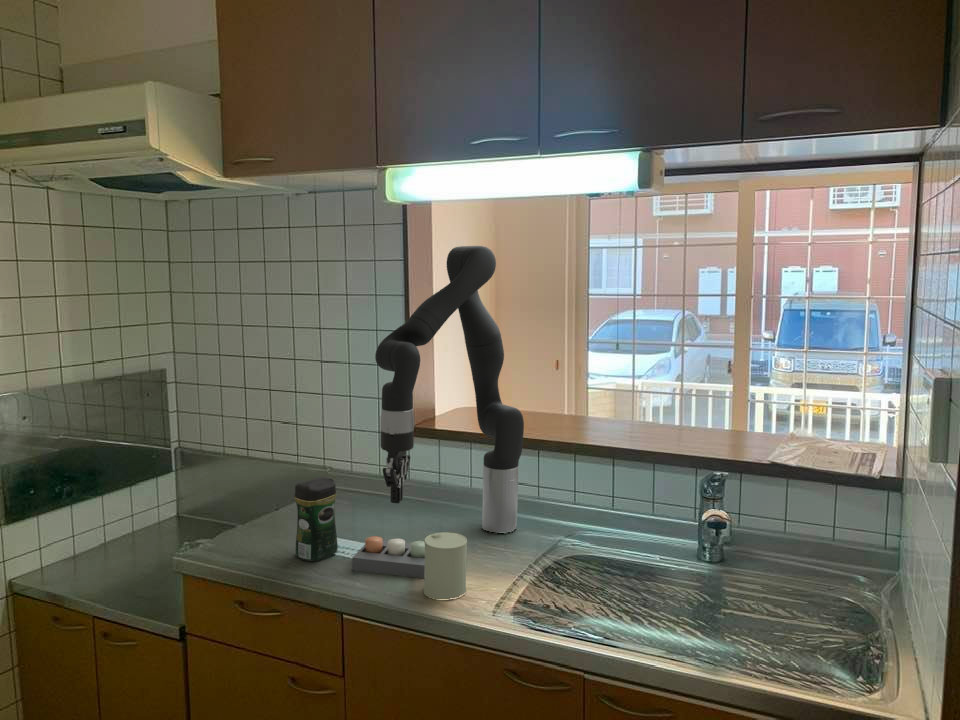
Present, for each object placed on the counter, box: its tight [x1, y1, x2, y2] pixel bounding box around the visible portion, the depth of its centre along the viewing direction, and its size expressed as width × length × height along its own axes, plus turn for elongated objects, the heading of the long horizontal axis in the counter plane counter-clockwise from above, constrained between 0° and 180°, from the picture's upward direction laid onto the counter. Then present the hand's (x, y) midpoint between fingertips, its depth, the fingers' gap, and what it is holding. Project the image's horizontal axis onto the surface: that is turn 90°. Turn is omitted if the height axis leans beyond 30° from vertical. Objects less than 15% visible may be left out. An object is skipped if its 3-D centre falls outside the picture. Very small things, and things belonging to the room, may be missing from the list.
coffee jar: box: [294, 475, 339, 562], centre depth 175 cm, size 10×8×19 cm
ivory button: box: [388, 538, 406, 556], centre depth 172 cm, size 4×4×3 cm
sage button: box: [410, 540, 425, 559], centre depth 171 cm, size 4×4×3 cm
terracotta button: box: [364, 536, 384, 554], centre depth 173 cm, size 4×4×3 cm
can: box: [423, 531, 468, 600], centre depth 158 cm, size 9×9×12 cm
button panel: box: [351, 539, 425, 579], centre depth 172 cm, size 12×17×3 cm
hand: (396, 501), depth 170 cm, fingers closed
